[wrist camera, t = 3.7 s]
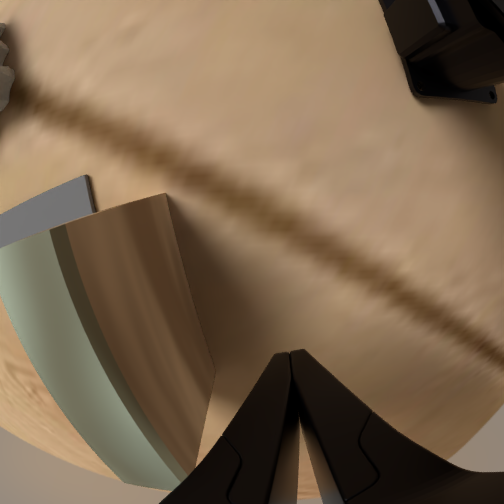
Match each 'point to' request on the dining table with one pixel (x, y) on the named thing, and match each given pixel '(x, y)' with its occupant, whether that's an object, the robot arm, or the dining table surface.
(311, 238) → the dining table surface
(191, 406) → the oak slab
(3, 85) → the egg carton
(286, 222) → the dining table surface
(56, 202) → the rubber mat
